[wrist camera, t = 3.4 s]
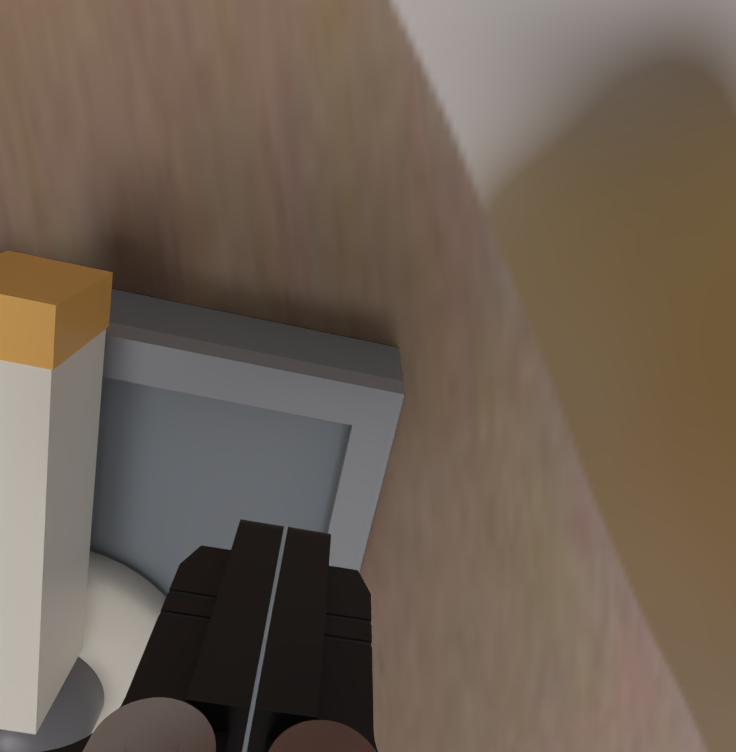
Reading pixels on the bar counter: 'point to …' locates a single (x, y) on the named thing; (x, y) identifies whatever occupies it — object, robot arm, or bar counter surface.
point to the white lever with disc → (58, 514)
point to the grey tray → (235, 436)
